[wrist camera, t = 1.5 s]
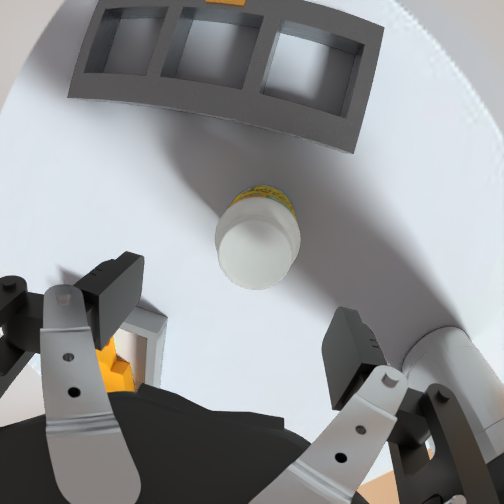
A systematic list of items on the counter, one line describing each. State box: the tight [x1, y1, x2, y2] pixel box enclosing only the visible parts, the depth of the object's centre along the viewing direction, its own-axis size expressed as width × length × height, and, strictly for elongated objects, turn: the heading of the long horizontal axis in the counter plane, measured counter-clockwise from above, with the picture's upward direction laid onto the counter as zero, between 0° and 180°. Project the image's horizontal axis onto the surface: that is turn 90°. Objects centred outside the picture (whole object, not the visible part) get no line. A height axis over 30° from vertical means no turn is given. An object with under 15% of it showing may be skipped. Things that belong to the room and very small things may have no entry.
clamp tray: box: [119, 306, 168, 388], centre depth 31 cm, size 11×19×3 cm, turn 165°
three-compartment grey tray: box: [67, 0, 384, 154], centre depth 19 cm, size 24×11×3 cm, turn 75°
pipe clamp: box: [95, 336, 136, 393], centre depth 30 cm, size 12×4×6 cm, turn 174°
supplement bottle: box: [215, 185, 301, 290], centre depth 20 cm, size 5×5×10 cm
